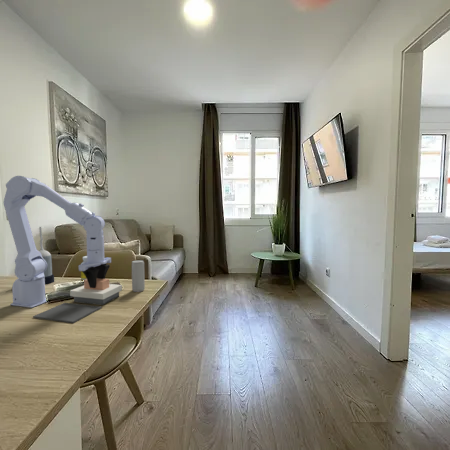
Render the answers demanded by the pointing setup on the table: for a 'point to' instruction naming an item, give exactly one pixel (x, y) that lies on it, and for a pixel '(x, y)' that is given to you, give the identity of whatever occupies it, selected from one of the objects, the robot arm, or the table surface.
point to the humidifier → (47, 257)
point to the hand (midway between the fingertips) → (96, 285)
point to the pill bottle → (81, 271)
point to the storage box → (96, 301)
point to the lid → (96, 290)
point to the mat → (67, 312)
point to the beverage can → (138, 276)
